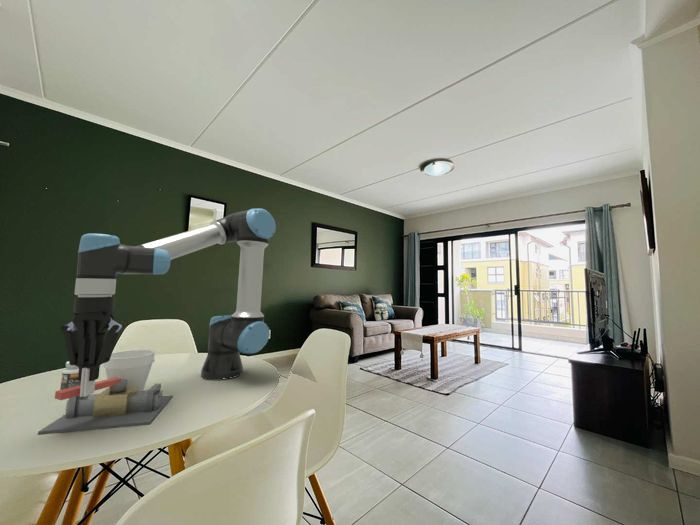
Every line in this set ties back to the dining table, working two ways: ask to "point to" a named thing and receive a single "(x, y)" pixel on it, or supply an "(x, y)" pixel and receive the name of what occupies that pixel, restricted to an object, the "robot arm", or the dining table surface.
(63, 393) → the lever
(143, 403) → the valve
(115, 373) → the cup
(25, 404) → the dining table surface
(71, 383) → the pill bottle
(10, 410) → the dining table surface
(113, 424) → the mat
